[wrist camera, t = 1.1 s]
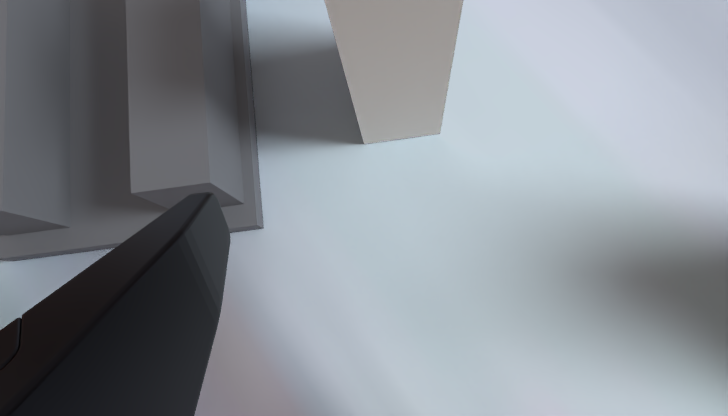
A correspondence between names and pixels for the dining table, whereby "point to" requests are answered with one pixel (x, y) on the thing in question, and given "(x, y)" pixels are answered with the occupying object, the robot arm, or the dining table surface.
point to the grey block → (396, 62)
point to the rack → (121, 119)
